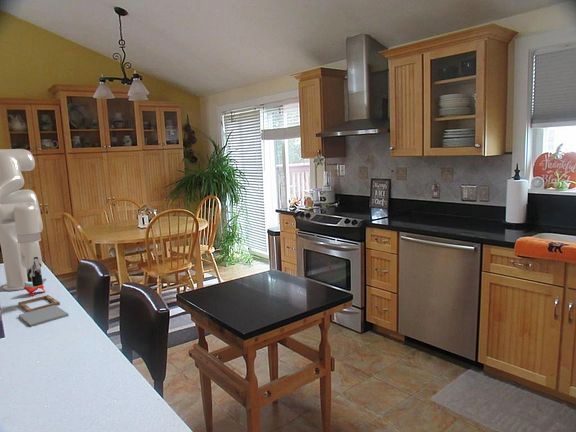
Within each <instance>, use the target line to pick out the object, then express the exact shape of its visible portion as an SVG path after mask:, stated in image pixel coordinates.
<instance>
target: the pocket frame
mask: <svg viewBox="0 0 576 432" xmlns="http://www.w3.org/2000/svg"><path fill="white" fill-rule="evenodd" d="M43 300H47V301H49V302H51V303H48V304H44V305H41V306H37V307H33V308H31V307H29V306H28V305H27V304H32V303H35V302H38V301H43ZM17 304H18V306H20V308H22V309H23V310H24V311H26V313H27V312H31V311H35V310H38V309H42V308H46V307H49V306H53V305H56V306H57V307H58V306H60V305H61V302H60V301H59V300H57V299H55V298H54V297H52V296H50V295H49V294H46V295H43V296H39V297H35V298H30V299H26V300H23V301H19V302H17Z"/></svg>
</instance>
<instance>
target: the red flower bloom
mask: <svg viewBox="0 0 576 432" xmlns="http://www.w3.org/2000/svg"><path fill="white" fill-rule="evenodd" d="M44 288H45V286H44V284H42V285H41V286H39V287H35V288H31V287H26V285H25V287H24V289H23V290H26V292H27V293H28V294H29V295H31V296H32V297H35V294H34V293H35V292H36V291H37V290H38V289H41V290H42V291H43V292H45V293H46V291H45V289H44Z"/></svg>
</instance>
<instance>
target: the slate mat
mask: <svg viewBox="0 0 576 432" xmlns="http://www.w3.org/2000/svg"><path fill="white" fill-rule="evenodd" d="M18 317H19V318H20V319H21V320H22V321H23V322H25V323H26V324H27V325H28V326H29V327H30V328H32V327H35V326H39V325H42V324H45V323H48V322H52V321H56V320H59V319H63V318H66V317H69V313H68V312H67V311H65V310H63V309H62V308H60V307H59V306H58V305H57V306H56V305H53V306H49V307H46V308H42V309H38V310H35V311H31V312H27V311H26V312H24V313H20V314H18Z"/></svg>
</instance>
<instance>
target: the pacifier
mask: <svg viewBox="0 0 576 432" xmlns="http://www.w3.org/2000/svg"><path fill="white" fill-rule="evenodd" d="M32 276H33V275H32V272H31V273H30V277H31V278H32ZM46 281H47V278H42V282H43V285H44V284H45V283H46ZM24 284H25V285H26V287H31V288H35V287H39V286H41V285H39V286H35V287H34V286H33V282H24Z"/></svg>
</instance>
